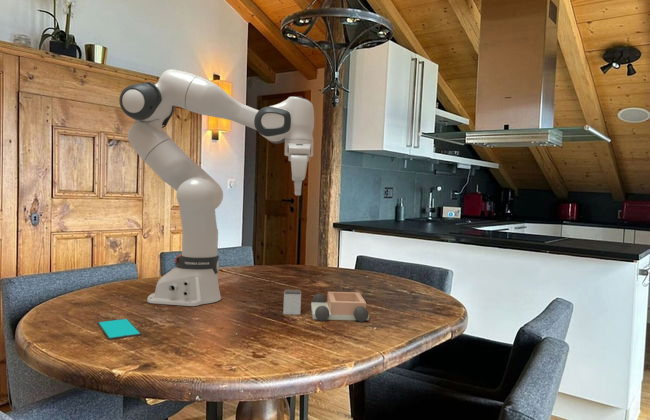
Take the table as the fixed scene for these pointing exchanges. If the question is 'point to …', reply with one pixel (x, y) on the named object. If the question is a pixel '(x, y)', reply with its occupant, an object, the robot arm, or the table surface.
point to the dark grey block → (292, 302)
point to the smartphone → (118, 329)
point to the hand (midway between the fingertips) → (297, 195)
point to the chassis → (339, 307)
